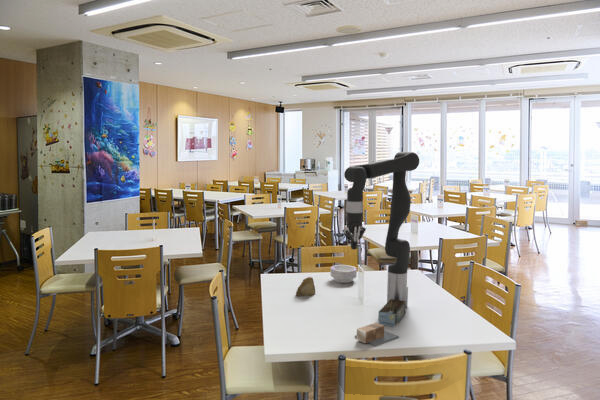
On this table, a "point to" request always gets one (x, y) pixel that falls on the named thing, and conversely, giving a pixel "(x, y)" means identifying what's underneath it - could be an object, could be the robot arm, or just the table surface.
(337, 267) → the paper bowls
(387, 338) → the slate mat
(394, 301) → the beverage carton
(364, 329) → the walnut block
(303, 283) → the rock
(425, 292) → the table surface
